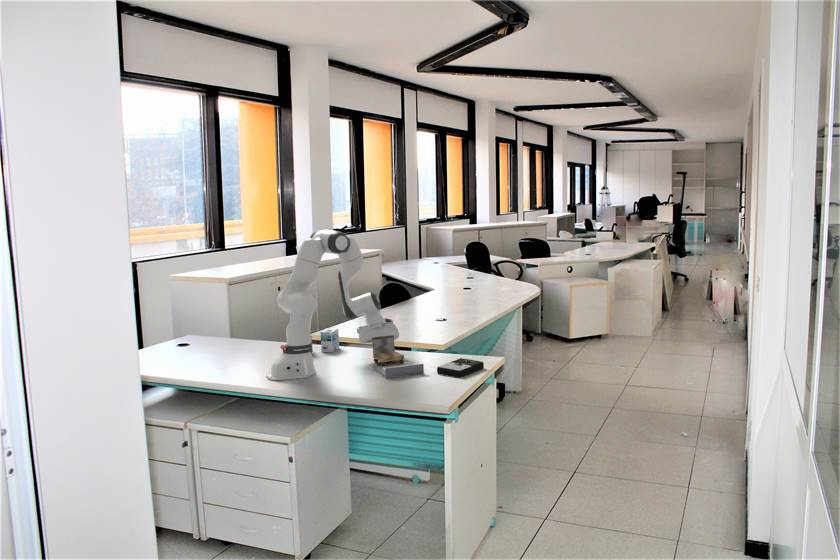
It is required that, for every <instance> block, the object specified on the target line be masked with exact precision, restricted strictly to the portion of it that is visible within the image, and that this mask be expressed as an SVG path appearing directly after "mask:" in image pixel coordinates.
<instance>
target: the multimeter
mask: <svg viewBox="0 0 840 560" xmlns="http://www.w3.org/2000/svg"><path fill="white" fill-rule="evenodd" d="M484 363H485V362H484V361H479V360H473V359H468V358H461V357H460V358H458V359H454V360H453V361H449V362H447V363H444V364H442V365H439V366H437V368H436V374H437V373H438V374H437V375H440V374H443V375H442V376H446V375H448V376H447V377H451V376H453V377H452V378H457V377H458V379H462V378H464V377H466V376H469V375H472V374H474V373H476V372H479V371H481V370H483V369H484V368H485V367H484V366H485V365H484ZM461 377H462V378H461Z"/></svg>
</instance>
